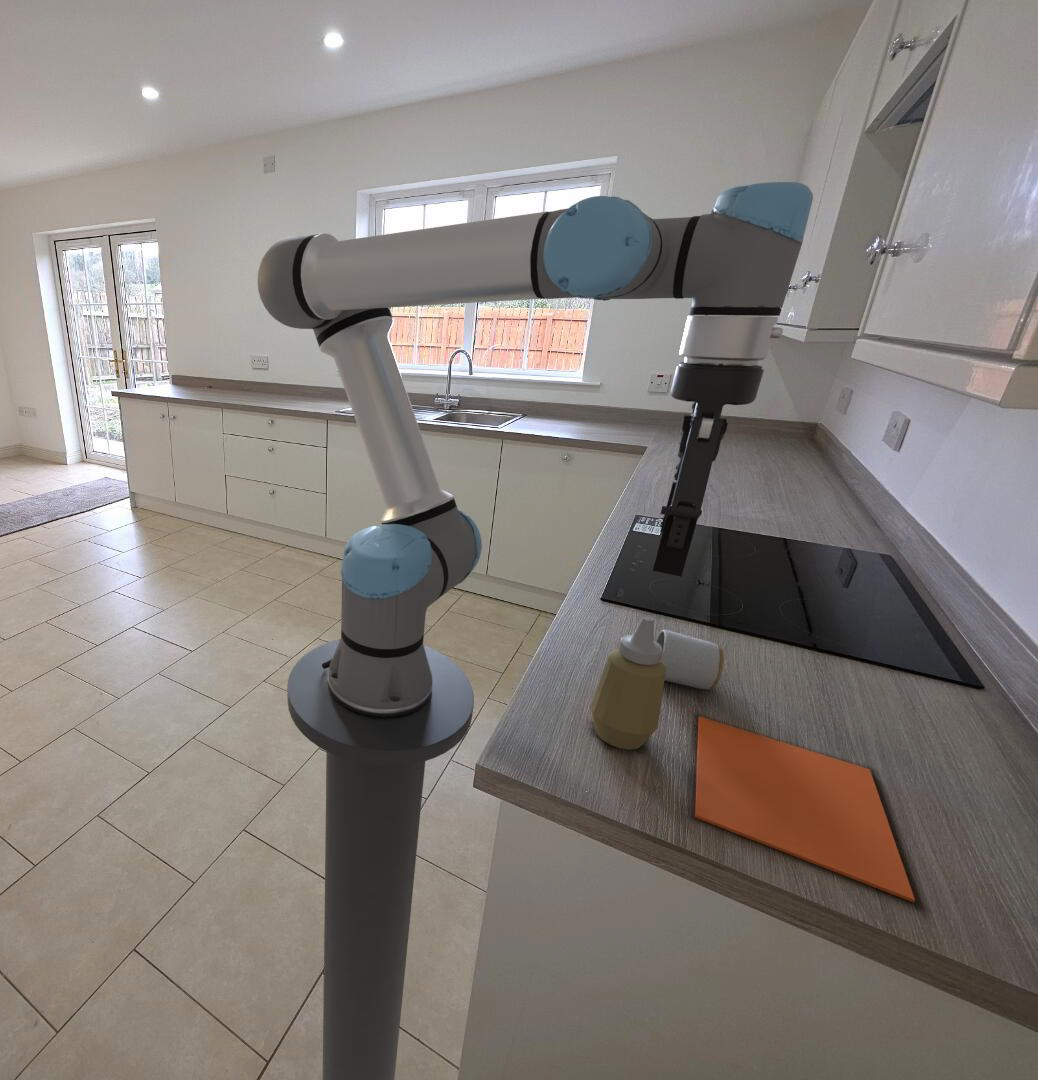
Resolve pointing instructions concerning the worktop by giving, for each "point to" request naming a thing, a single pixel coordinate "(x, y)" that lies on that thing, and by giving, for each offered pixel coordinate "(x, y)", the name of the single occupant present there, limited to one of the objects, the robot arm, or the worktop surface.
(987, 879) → the worktop surface
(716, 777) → the napkin
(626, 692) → the squeeze bottle
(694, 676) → the ceramic mug
